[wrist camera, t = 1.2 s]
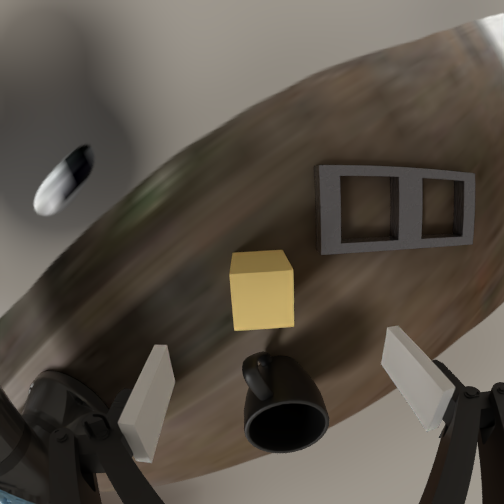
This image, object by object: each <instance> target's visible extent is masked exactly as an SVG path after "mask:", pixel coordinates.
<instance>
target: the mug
mask: <svg viewBox="0 0 504 504" xmlns="http://www.w3.org/2000/svg"><path fill="white" fill-rule="evenodd" d="M258 361H259V363H260V365H259V366H258ZM242 372H243V376H244V379H245V381H246V383H247V385H248V386H249V389H248V392H247V396H246V401H245V408H244V431H245V436H246V438H247V439H248V441H249V442H250V443H251V444H252V445H253V446H254V447H256V448H258V449H260V450H263V451H266V452H271V453H290V452H295V451H298V450H302V449H305V448H307V447H309V446H311V445H312V444H314V443H316V442H317V441H318V440H319V439H321V438H322V436H323V435H324V434H325V433H326V431H327V429H328V426H329V416H328V413H327V410H326V407H325V404H324V401H323V398H322V395H321V393H320V391H319V389H318V387H317V386H316V384H315V383H314V381H313V380H312V379H311V377H310V376H309V375H308V374H307V372H306V371H305V370H304V369H303V368H302V367H301V366H300V365H299V364H298V362H296V361H295V360H294V359H292V358H290V357H286V356H274V357H271V356H270V355H269V353H267V352H259V353H256V354H254V355H251V356H249V357H248V358H246V359H245V360H244V362H243V365H242Z"/></svg>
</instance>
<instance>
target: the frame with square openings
mask: <svg viewBox="0 0 504 504" xmlns="http://www.w3.org/2000/svg"><path fill="white" fill-rule="evenodd" d="M314 176H315V202H316V250H317V251H318V252H319V253H320V254H321V255H328V254H343V253H358V252H373V251H387V250H401V249H415V248H429V247H443V246H456V245H469V244H473V233H474V217H475V173H466V172H457V171H447V170H436V169H423V168H408V167H390V166H362V165H317V166H314ZM340 176H386V177H390V193H391V215H390V237H372V238H354V239H341V195H340ZM422 178H430V179H445V180H454V223H453V234H432V235H421V233H422Z"/></svg>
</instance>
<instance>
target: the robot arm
mask: <svg viewBox="0 0 504 504" xmlns="http://www.w3.org/2000/svg"><path fill="white" fill-rule="evenodd" d="M381 365H382V366H383V367H384V369H385V370H386V372H387V373H388V375H389V376H390V378H391V379H392V380H393V382H394V383H395V385H396V386H397V388H398V389H399V391H400V392H401V394H402V395H403V396H404V398H405V400H406V401H407V403H408V404H409V406H410V407H411V409H412V410H413V411H414V413H415V415H416V416H417V418H418V419H419V420H420V422H421V424H422V425H423V427H424V428H425V430H426V432H428V431H430V430H433V429H436V428H438V427H439V425H440V423H441V421H442V419H443V421H444V422H445V423H446V424H445V426H444V428H443V430H442V432H441V434H440V436H439V438H441V440H440V444H439V447H438V451H437V454H436V457H435V461H434V464H433V467H432V470H431V473H430V476H429V479H428V481H427V484H426V487H425V489H424V492H423V495H422V497H421V500H420V502H419V504H464V503H465V500H466V496H467V492H468V488H469V484H470V479H471V475H472V470H473V465H474V460H475V453H476V447H477V442H478V449H479V457H480V467H481V480H482V498H483V499H482V503H483V504H504V383H502V382H499V383H496V384H494V385H493V387H492V389H491V391H488V392H480V391H479V390H478V389H477V388H475V387H471V386H467V387H465V386H464V385H463V384H462V383H461V382H460V381H459V380H458V378H457V377H455V375H454V374H452V372H451V371H450V370H448V368H447V367H446V366H445V365H444V364H443V363H441V362H439V361H438V360H433V361H431V360H430V359H429V358H428V356H427V355H426V354H425V353H424V352H423V351H422V350H421V349H420V348H419V347H418V346H417V345H416V344H415V343H414V342H413V341H412V340H411V339H410V338H409V337H408V335H407V334H406V333H405V332H404V331H403V330H402V329H401V328H400V327H399V326H393V327H387V333H386V339H385V345H384V351H383V357H382V362H381ZM174 384H175V378H174V374H173V370H172V366H171V361H170V357H169V352H168V347H167V345H154V347H153V349H152V351H151V353H150V355H149V357H148V359H147V361H146V363H145V365H144V368H143V370H142V372H141V374H140V376H139V378H138V380H137V382H136V384H135V386H134V388H133V389H123V390H122V391H120V392H119V393H118V394H117V396H116V398H115V399H114V402H113V403H112V405H111V407H110V409H108V408H107V406H106V405H105V404H104V403H103V401H102V400H101V399H100V398H99V397H98V396H97V395H96V394H95V393H94V392H93V391H91V390H90V389H89V388H88V387H86V386H85V385H84V384H82V383H81V382H79V381H78V380H76V379H74V378H72V377H70V376H68V375H66V374H63V373H60V372H56V371H45V372H42V373H41V374H39V375H38V376H37V378H36V379H35V380H34V381H33V382H32V384H31V386H30V389H29V395H28V398H27V400H26V403H25V406H24V409H23V412H22V414H21V415H20V413H19V412H18V411H17V409H16V408H15V407H14V405H13V404H12V402H11V401H10V399H9V398H8V396H7V395H6V393H5V392H4V390H3V389H2V387H1V386H0V504H102V503H101V498H100V493H99V488H98V483H97V477H96V473H106V474H107V476H108V478H109V480H110V481H111V483H112V485H113V487H114V488H115V490H116V492H117V494H118V495H119V497H120V498H121V500H122V502H123V503H124V504H165V503H164V502H163V501H162V500H161V498H160V497H159V496H158V495H157V493H156V492H155V491H154V489H153V488H152V486H151V485H150V484H149V482H148V481H147V480H146V478H145V477H144V475H143V474H142V473H141V471H140V470H139V468H138V467H137V465H136V464H135V462H134V461H133V459H132V456H133V455H134V457H135V459H136V461H141V462H148V463H152V460H153V457H154V453H155V449H156V446H157V442H158V439H159V435H160V432H161V428H162V425H163V421H164V418H165V414H166V411H167V408H168V404H169V401H170V398H171V394H172V391H173V388H174Z"/></svg>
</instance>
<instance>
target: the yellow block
mask: <svg viewBox="0 0 504 504" xmlns="http://www.w3.org/2000/svg"><path fill="white" fill-rule="evenodd" d="M229 275H230V287H231V299H232V310H233V321H234V331H239V330H256V329H271V328H284V327H294V272H293V268H292V266H291V265H290V263H289V261H288V259H287V257H286V255H285V253H284V252H283V250H270V251H253V252H237V253H233V254H232V260H231V267H230V273H229Z"/></svg>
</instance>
